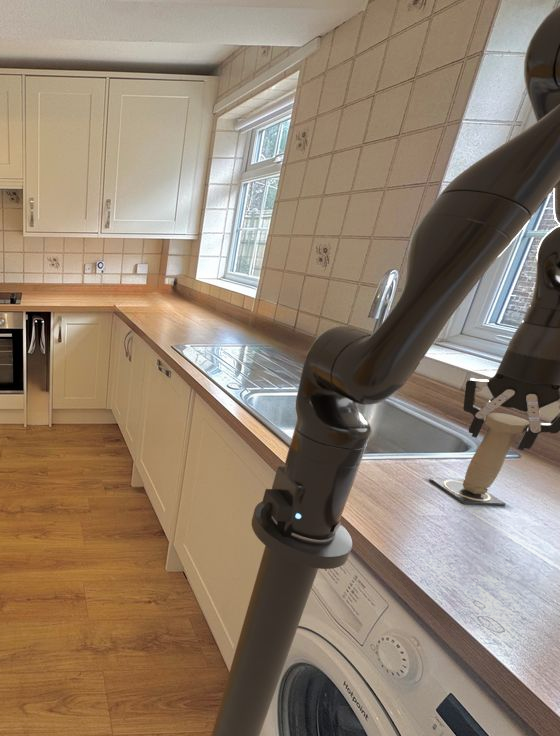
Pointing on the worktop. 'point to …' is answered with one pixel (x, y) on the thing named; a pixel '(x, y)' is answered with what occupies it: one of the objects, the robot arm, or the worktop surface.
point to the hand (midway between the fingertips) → (496, 441)
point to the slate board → (465, 493)
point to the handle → (492, 451)
